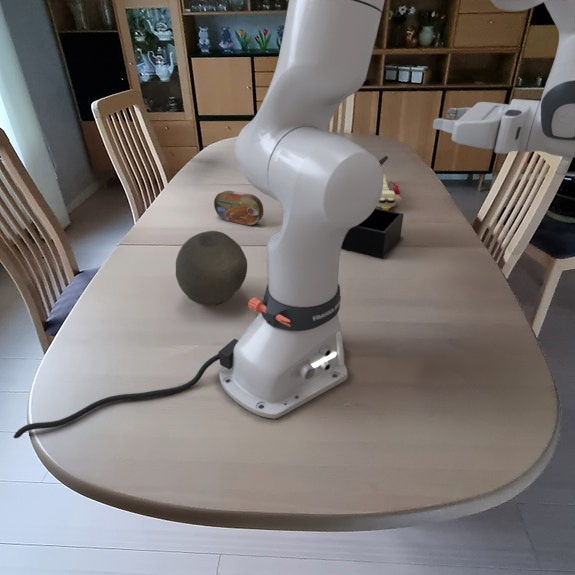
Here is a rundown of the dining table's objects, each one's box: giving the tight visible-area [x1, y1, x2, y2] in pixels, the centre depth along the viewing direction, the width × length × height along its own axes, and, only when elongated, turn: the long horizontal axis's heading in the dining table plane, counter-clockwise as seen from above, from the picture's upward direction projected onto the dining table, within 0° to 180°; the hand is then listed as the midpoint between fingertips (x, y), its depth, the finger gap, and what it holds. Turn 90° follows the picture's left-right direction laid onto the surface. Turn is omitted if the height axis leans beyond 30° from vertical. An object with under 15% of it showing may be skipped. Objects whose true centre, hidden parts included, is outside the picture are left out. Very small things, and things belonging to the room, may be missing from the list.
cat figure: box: [376, 164, 402, 211], centre depth 137 cm, size 10×9×25 cm
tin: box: [213, 190, 264, 226], centre depth 124 cm, size 15×3×8 cm, turn 62°
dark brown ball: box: [175, 230, 248, 306], centre depth 90 cm, size 14×14×15 cm
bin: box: [341, 207, 404, 260], centre depth 113 cm, size 16×13×7 cm
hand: (441, 117), depth 89 cm, fingers open, 8 cm apart
